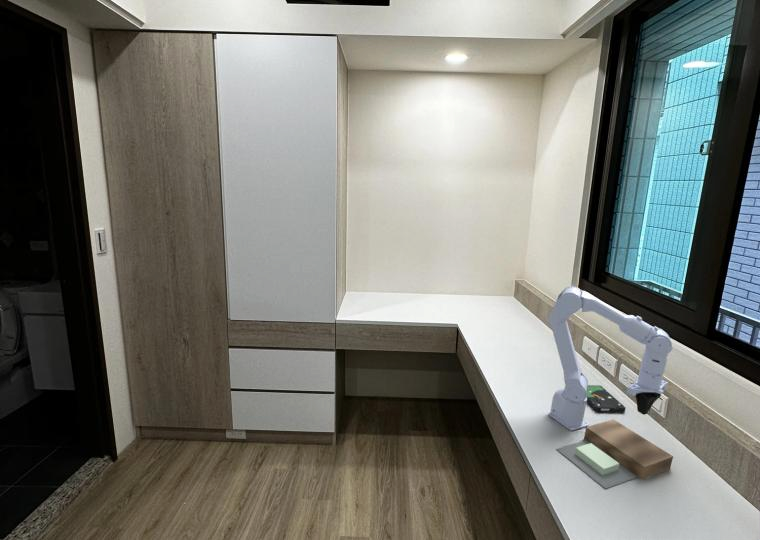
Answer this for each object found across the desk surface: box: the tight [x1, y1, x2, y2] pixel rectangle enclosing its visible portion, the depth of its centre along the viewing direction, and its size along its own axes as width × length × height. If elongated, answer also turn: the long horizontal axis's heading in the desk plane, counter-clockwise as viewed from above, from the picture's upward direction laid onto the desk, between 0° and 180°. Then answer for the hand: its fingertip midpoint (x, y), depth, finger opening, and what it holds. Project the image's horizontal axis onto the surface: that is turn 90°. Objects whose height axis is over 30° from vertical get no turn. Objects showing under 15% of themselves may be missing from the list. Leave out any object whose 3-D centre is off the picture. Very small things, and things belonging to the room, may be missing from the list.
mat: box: [556, 439, 638, 490], centre depth 112 cm, size 16×12×1 cm
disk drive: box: [586, 384, 626, 414], centre depth 144 cm, size 10×3×15 cm
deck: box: [583, 419, 674, 480], centre depth 117 cm, size 18×12×4 cm, turn 23°
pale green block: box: [575, 443, 619, 475], centre depth 112 cm, size 9×6×2 cm, turn 23°
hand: (642, 412), depth 121 cm, fingers closed
